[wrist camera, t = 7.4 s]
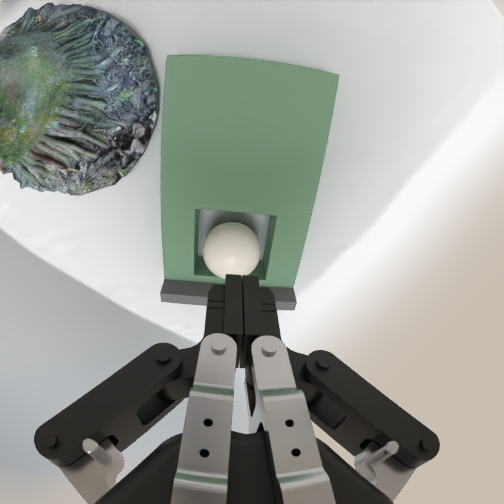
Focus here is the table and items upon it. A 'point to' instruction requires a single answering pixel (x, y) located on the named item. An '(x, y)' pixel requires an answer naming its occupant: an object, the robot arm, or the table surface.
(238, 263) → the ball
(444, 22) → the table surface
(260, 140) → the mat
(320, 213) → the table surface
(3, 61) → the tree stump
